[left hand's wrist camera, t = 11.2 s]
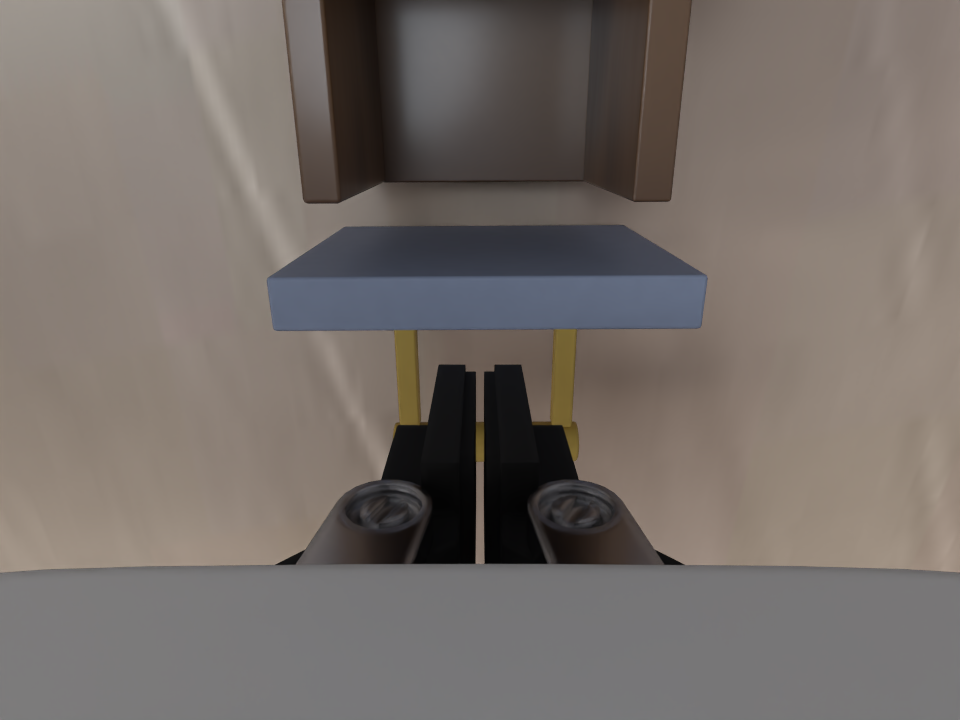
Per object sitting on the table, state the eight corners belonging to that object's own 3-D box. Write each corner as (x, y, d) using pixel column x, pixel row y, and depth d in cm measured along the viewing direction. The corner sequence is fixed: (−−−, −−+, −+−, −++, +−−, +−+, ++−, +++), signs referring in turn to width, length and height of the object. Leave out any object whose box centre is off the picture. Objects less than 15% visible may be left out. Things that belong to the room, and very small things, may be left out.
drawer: (610, 408, 22) (674, 539, 15) (358, 409, 22) (300, 541, 15) (676, -421, 14) (878, -991, 7) (288, -418, 14) (92, -986, 7)
